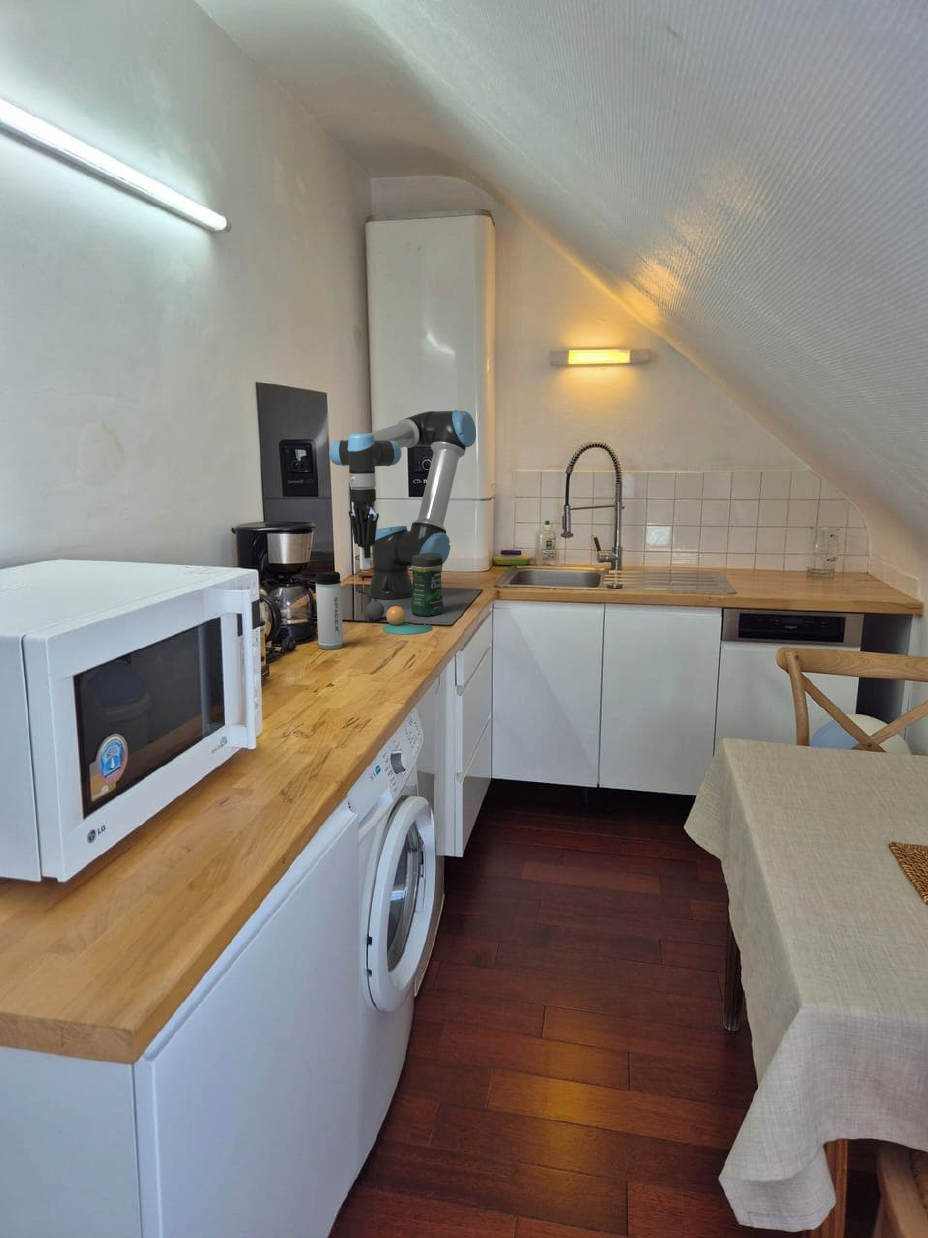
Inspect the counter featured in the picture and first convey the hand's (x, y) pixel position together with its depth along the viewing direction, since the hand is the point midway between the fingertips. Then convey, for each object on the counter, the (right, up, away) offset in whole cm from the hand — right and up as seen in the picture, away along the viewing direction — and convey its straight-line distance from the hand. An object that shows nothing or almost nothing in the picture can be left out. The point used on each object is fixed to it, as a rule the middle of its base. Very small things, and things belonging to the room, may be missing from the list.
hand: (365, 568), depth 243 cm
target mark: (+13, -18, -13) cm, 25 cm away
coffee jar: (+18, -14, +6) cm, 23 cm away
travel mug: (-5, -22, -32) cm, 39 cm away
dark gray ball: (+3, -12, -2) cm, 13 cm away
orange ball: (+10, -14, -9) cm, 19 cm away
